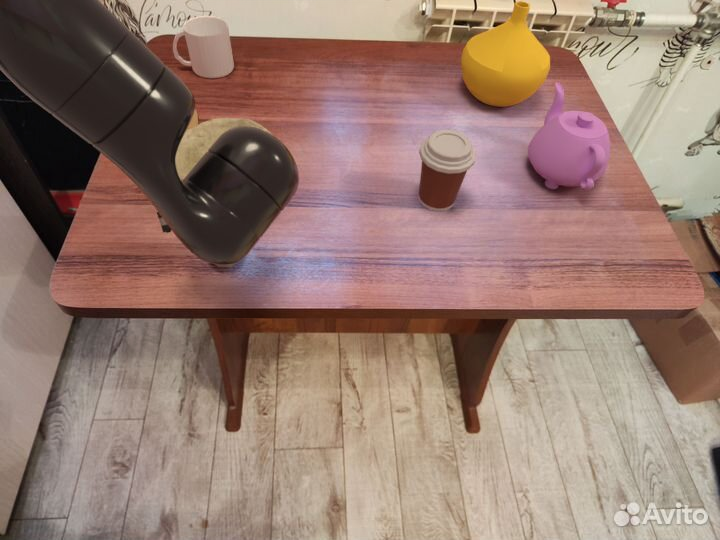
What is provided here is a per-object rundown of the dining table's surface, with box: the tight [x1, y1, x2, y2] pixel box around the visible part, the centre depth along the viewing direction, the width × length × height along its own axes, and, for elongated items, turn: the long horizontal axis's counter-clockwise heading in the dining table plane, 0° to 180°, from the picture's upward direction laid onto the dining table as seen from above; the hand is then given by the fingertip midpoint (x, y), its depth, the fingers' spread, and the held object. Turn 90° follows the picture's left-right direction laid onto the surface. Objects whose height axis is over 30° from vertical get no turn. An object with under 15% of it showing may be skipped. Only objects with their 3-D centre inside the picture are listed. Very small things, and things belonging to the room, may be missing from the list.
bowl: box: [175, 117, 272, 181], centre depth 80 cm, size 14×18×15 cm
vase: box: [460, 0, 551, 108], centre depth 101 cm, size 18×18×19 cm
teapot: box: [527, 81, 611, 191], centre depth 88 cm, size 20×14×12 cm
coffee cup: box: [417, 129, 477, 212], centre depth 81 cm, size 9×9×12 cm
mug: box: [172, 15, 235, 80], centre depth 104 cm, size 12×9×9 cm
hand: (215, 210), depth 68 cm, fingers open, 8 cm apart
